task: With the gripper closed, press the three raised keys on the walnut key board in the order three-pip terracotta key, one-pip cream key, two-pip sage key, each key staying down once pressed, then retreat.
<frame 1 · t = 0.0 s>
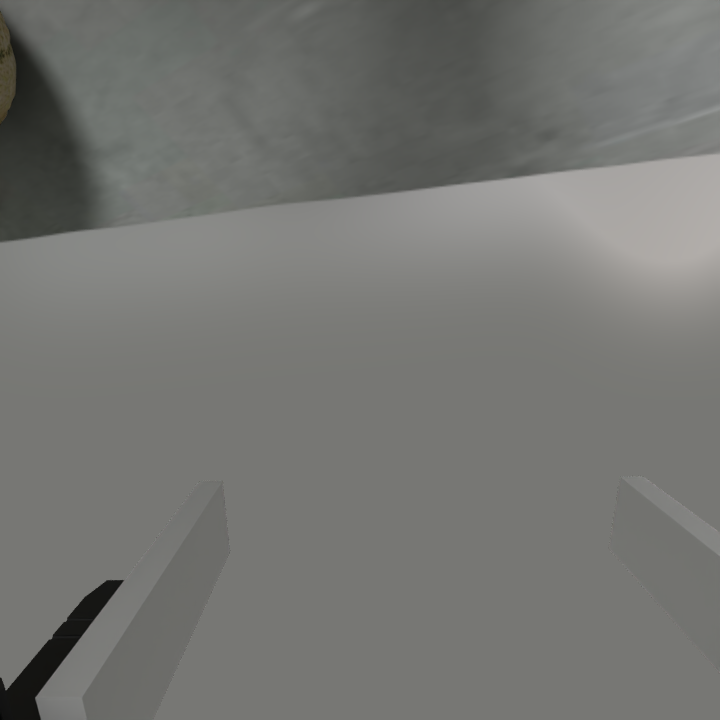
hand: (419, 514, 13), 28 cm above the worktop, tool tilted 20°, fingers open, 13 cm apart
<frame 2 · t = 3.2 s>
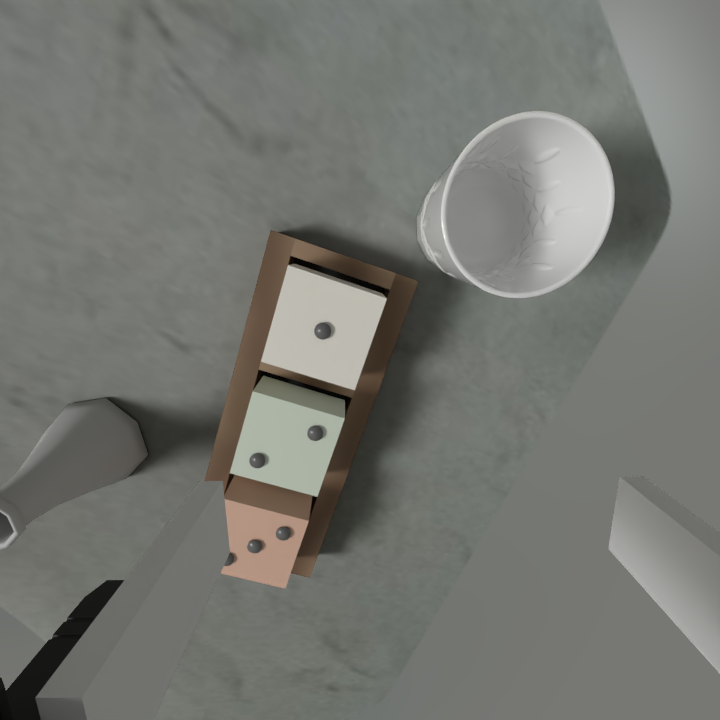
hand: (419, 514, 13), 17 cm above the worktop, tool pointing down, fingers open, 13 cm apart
flask: (102, 439, 31), on the worktop
tile 1pip: (324, 326, 24), point 4 cm above the worktop, slide at 0.0 cm
key board: (297, 412, 30), on the worktop
white cup: (462, 225, 27), on the worktop
tile 2pip: (289, 435, 26), point 4 cm above the worktop, slide at 0.0 cm
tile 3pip: (259, 530, 28), point 4 cm above the worktop, slide at 0.0 cm
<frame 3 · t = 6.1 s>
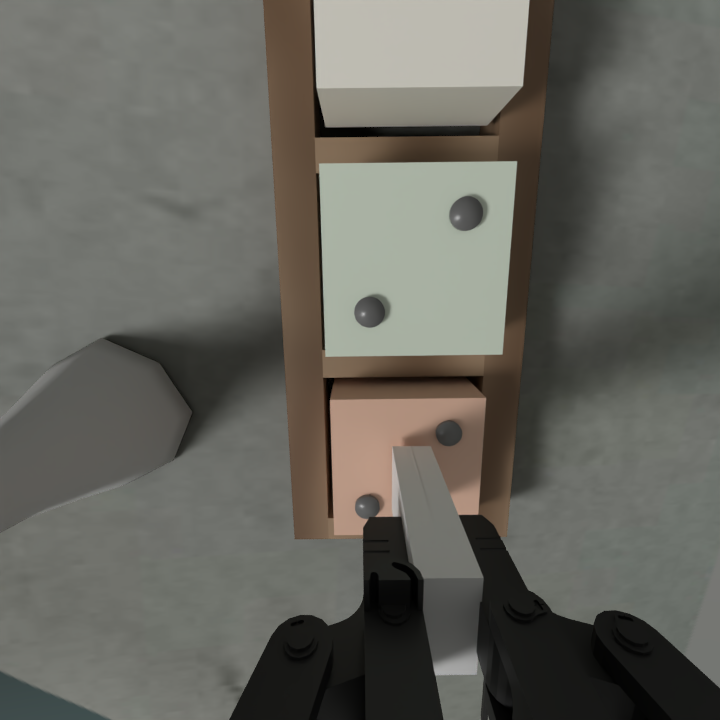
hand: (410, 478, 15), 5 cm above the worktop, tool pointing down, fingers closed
flask: (120, 410, 20), on the worktop
key board: (398, 265, 18), on the worktop
tile 2pip: (409, 264, 14), point 4 cm above the worktop, slide at 0.0 cm
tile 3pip: (402, 452, 17), point 3 cm above the worktop, slide at 1.3 cm, touching gripper
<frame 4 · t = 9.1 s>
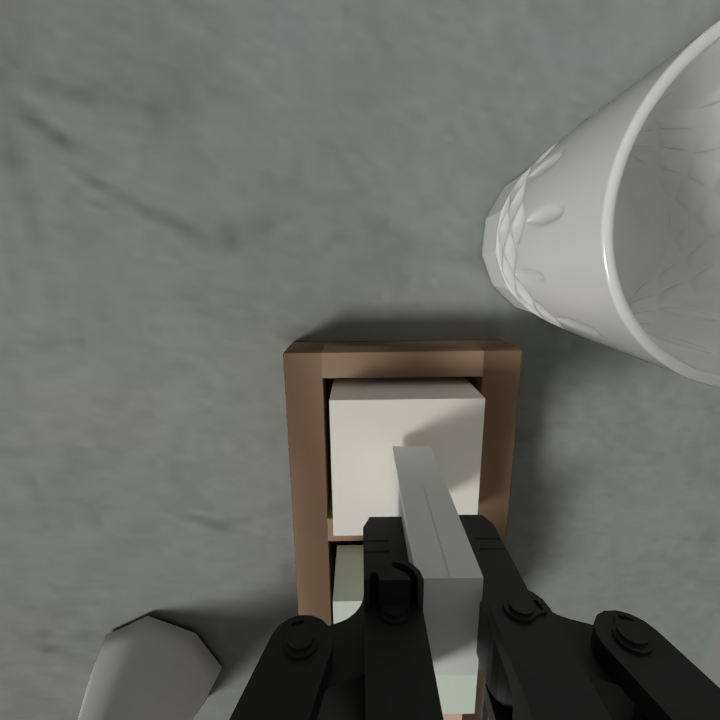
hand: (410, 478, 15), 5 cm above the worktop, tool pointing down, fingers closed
flask: (161, 660, 23), on the worktop
tile 1pip: (401, 452, 17), point 3 cm above the worktop, slide at 1.3 cm, touching gripper
key board: (394, 562, 21), on the worktop
white cup: (552, 240, 18), on the worktop
tile 2pip: (402, 627, 18), point 4 cm above the worktop, slide at 0.0 cm
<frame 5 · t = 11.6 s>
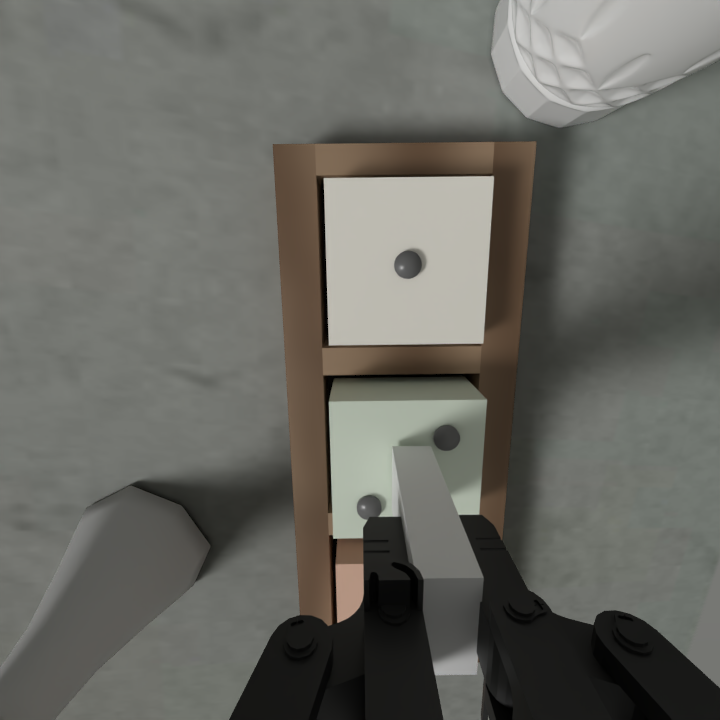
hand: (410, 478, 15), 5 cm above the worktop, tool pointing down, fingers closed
flask: (146, 541, 22), on the worktop
tile 1pip: (402, 265, 16), point 2 cm above the worktop, slide at 1.6 cm
key board: (395, 424, 20), on the worktop
white cup: (568, 42, 16), on the worktop
tile 2pip: (402, 454, 17), point 3 cm above the worktop, slide at 0.7 cm, touching gripper
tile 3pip: (398, 591, 19), point 2 cm above the worktop, slide at 1.6 cm
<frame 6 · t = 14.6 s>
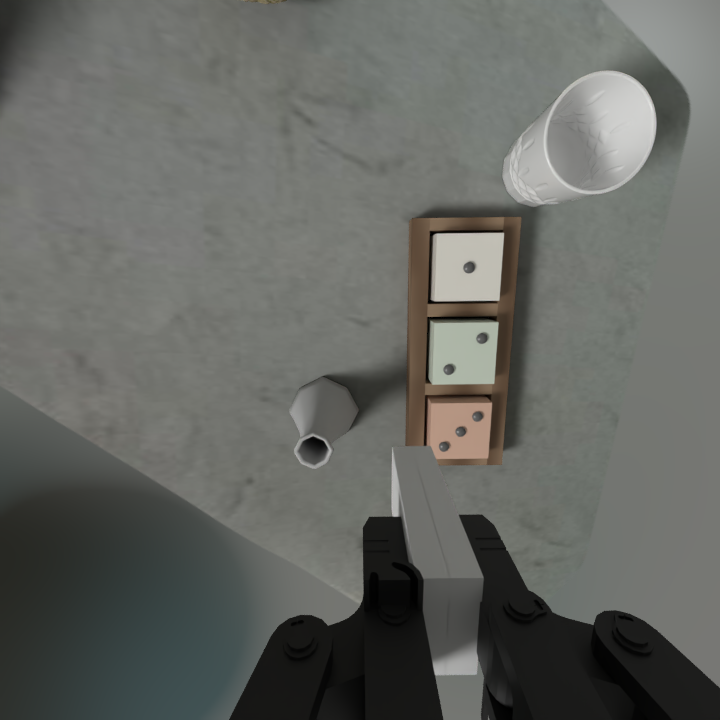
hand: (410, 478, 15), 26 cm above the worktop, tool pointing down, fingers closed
flask: (324, 408, 43), on the worktop
tile 1pip: (464, 267, 37), point 2 cm above the worktop, slide at 1.6 cm
key board: (454, 345, 41), on the worktop
white cup: (536, 170, 37), on the worktop
tile 2pip: (460, 350, 38), point 3 cm above the worktop, slide at 1.4 cm
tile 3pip: (456, 425, 40), point 2 cm above the worktop, slide at 1.6 cm
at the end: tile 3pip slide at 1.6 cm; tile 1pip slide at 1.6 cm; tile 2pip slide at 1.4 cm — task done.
